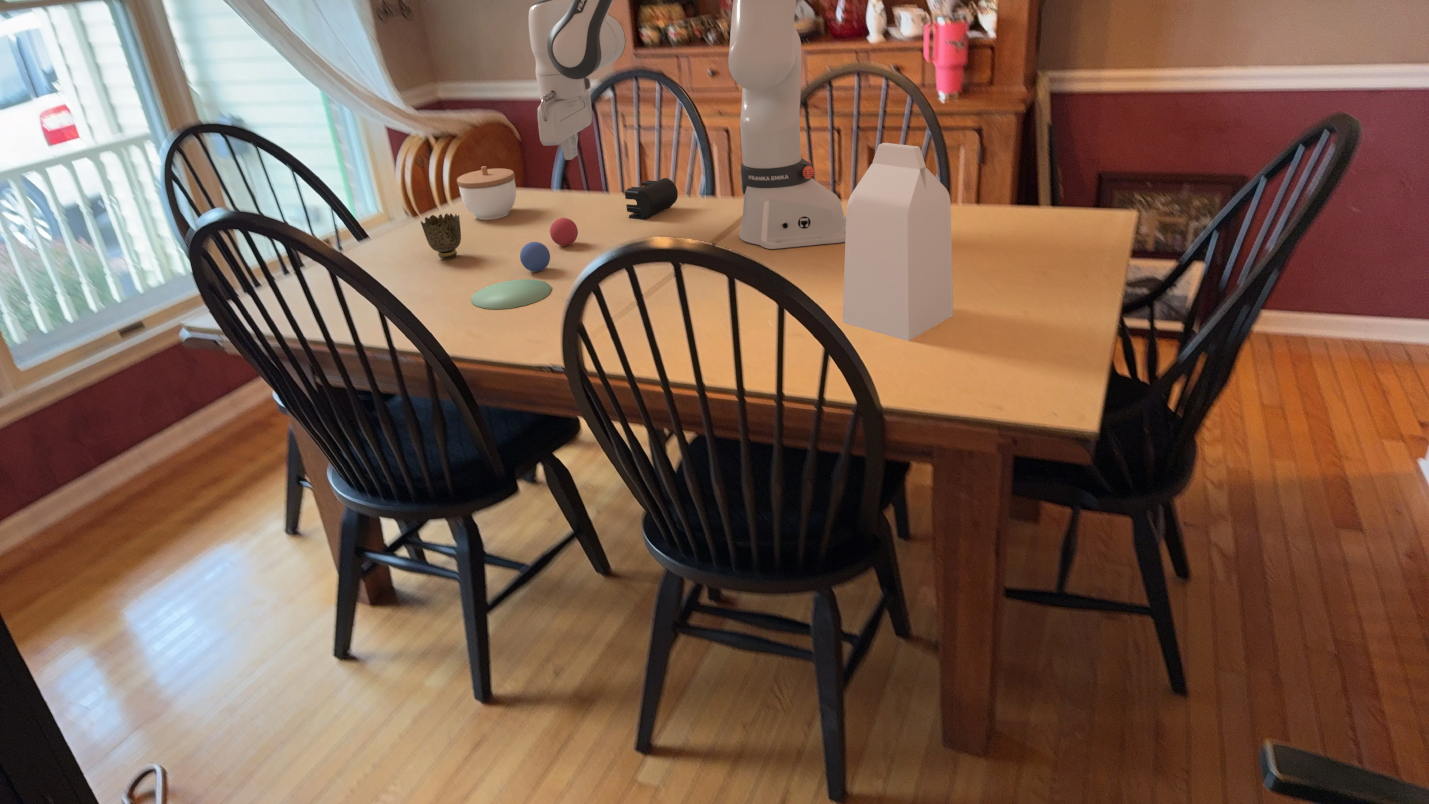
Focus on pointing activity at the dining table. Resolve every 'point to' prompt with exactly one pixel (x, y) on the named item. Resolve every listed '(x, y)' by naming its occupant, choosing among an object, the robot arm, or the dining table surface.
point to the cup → (443, 234)
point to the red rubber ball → (563, 231)
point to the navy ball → (535, 256)
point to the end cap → (651, 198)
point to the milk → (898, 247)
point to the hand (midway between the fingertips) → (571, 158)
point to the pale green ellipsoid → (511, 294)
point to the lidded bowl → (488, 192)
